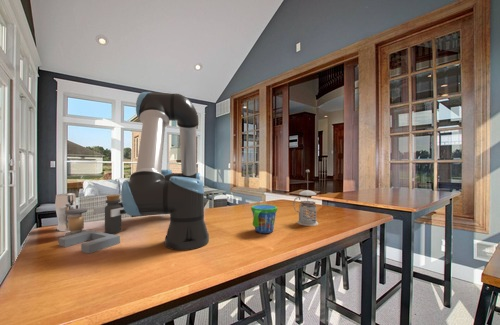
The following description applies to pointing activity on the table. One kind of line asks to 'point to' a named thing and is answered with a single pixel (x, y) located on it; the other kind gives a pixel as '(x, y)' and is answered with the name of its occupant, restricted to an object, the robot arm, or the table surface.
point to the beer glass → (64, 209)
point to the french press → (307, 208)
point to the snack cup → (264, 218)
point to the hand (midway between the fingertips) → (102, 212)
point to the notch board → (97, 243)
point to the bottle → (110, 222)
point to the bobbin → (75, 220)
